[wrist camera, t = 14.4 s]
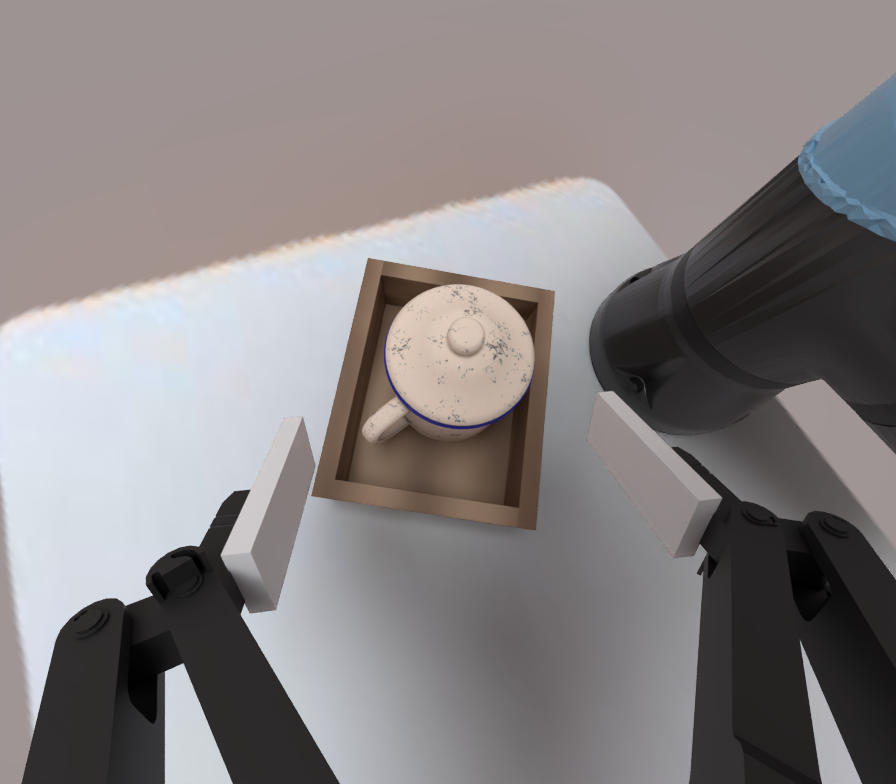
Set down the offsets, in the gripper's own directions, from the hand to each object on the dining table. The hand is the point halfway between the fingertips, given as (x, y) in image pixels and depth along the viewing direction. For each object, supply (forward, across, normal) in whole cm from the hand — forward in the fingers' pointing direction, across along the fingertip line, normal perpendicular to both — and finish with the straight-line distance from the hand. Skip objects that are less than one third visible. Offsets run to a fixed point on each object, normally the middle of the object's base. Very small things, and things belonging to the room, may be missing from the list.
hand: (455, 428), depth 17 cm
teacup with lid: (+12, 0, -6) cm, 14 cm away
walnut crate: (+13, 0, -6) cm, 14 cm away
